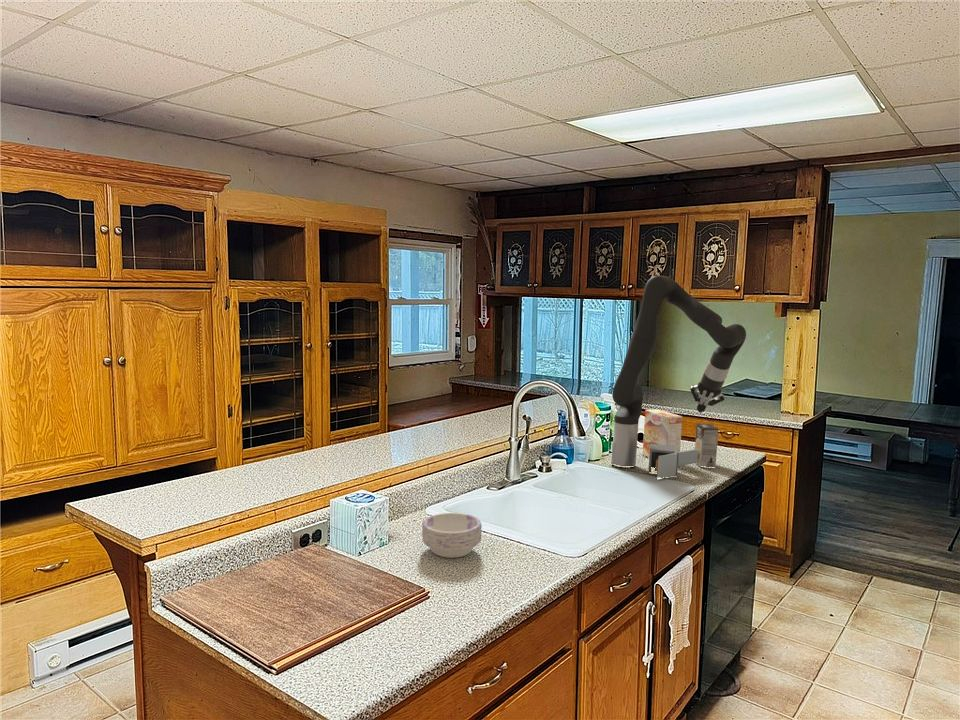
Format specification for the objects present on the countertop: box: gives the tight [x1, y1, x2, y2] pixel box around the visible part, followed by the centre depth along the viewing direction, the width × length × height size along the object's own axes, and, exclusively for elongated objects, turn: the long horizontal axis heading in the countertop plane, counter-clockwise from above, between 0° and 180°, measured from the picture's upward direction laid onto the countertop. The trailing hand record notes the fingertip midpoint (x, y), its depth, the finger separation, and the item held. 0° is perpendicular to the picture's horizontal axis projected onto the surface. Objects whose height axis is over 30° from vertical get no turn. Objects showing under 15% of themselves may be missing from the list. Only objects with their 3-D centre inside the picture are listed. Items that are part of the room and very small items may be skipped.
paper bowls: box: [421, 512, 483, 559], centre depth 172 cm, size 15×15×8 cm
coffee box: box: [694, 423, 719, 468], centre depth 265 cm, size 9×6×16 cm
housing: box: [648, 444, 675, 472], centre depth 253 cm, size 9×9×10 cm
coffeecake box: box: [642, 408, 683, 457], centre depth 271 cm, size 15×7×20 cm, turn 25°
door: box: [656, 448, 698, 478], centre depth 247 cm, size 21×1×9 cm, turn 123°
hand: (699, 410), depth 248 cm, fingers closed
